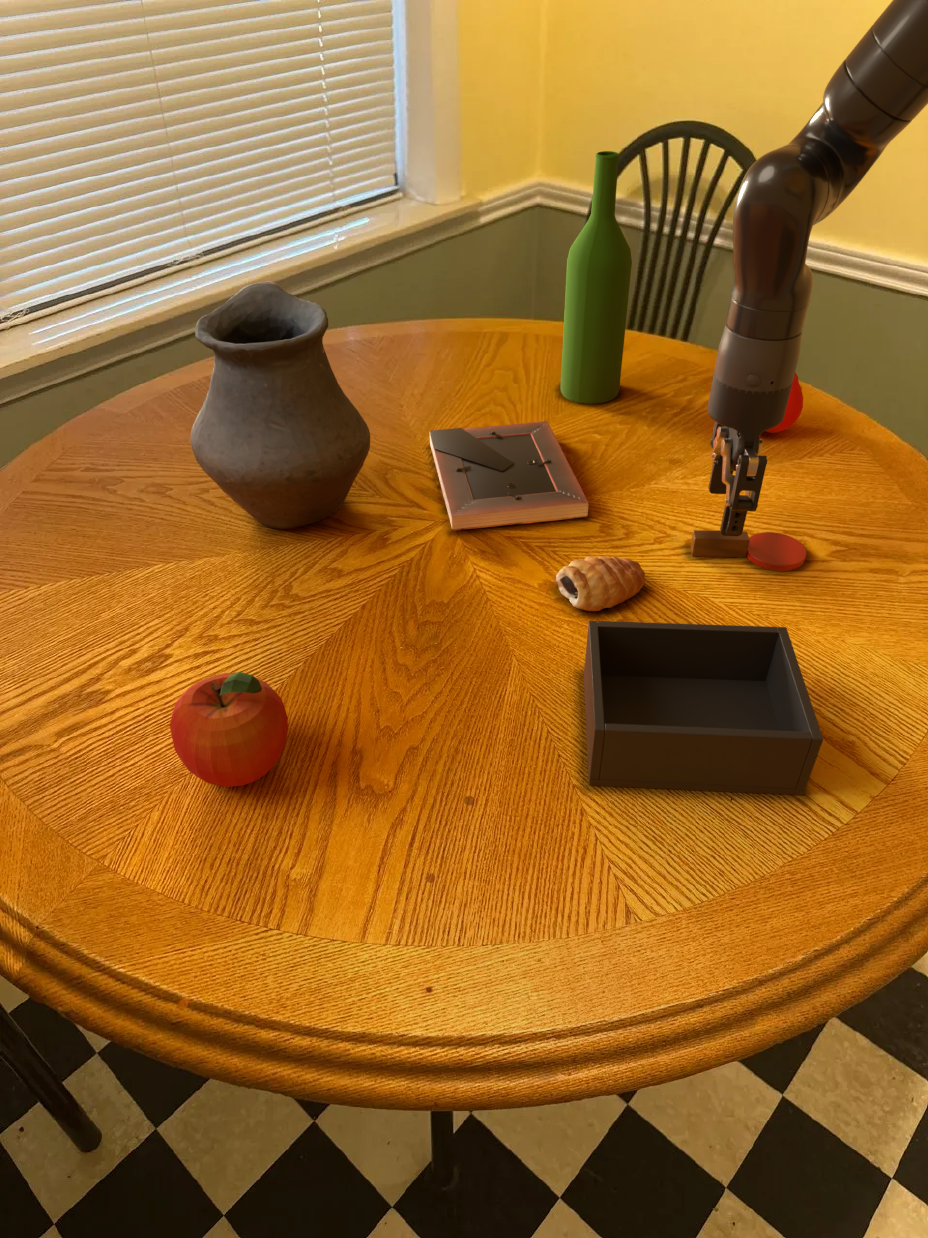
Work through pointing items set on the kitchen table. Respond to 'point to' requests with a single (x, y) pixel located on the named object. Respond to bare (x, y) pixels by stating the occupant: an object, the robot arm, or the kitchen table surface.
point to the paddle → (751, 548)
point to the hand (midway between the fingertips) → (723, 512)
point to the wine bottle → (596, 296)
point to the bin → (697, 708)
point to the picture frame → (505, 476)
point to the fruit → (229, 729)
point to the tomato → (791, 407)
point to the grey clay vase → (276, 410)
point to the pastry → (600, 582)
